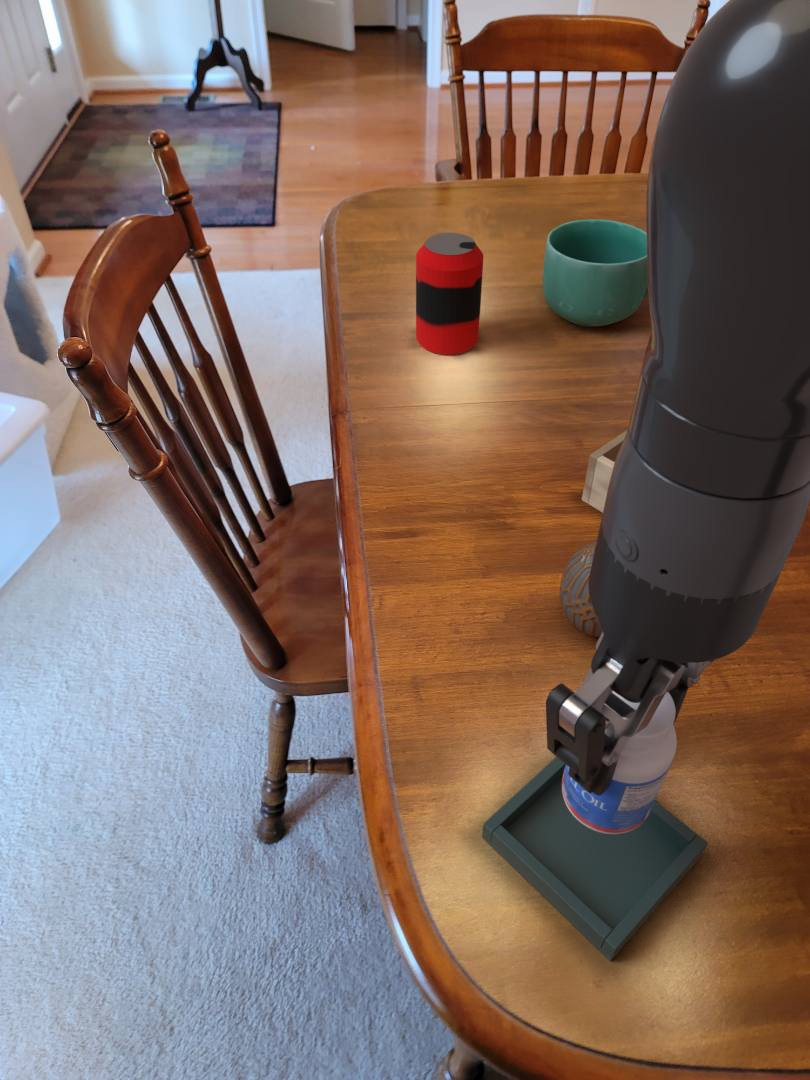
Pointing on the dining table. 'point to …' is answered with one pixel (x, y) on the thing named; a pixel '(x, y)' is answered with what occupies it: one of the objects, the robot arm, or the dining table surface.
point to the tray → (592, 860)
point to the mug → (595, 271)
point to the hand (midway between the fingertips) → (622, 747)
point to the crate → (601, 473)
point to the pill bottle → (628, 777)
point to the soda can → (448, 293)
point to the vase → (579, 592)
